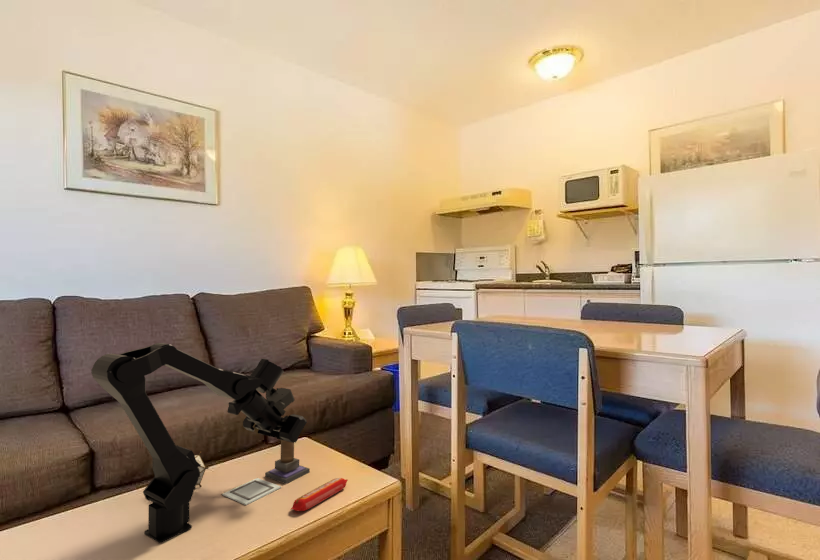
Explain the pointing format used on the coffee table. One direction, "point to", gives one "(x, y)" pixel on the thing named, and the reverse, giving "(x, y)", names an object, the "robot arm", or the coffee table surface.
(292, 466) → the wooden handle on base
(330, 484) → the candy bar
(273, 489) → the print card
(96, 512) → the coffee table surface
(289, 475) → the ink pad
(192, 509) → the coffee table surface
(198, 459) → the game die
